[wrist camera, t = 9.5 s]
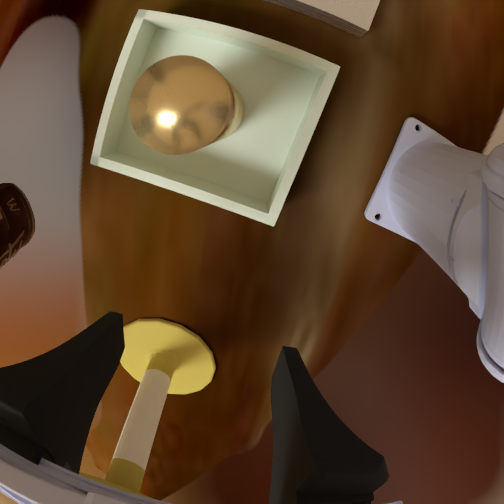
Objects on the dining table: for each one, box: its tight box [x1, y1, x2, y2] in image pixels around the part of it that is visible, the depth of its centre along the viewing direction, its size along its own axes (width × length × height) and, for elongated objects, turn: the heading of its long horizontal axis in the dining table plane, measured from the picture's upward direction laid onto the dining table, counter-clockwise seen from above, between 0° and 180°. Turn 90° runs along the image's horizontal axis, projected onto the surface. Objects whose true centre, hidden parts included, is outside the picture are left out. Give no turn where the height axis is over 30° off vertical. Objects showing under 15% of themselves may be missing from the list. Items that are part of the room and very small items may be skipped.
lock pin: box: [129, 55, 245, 155], centre depth 14 cm, size 4×4×8 cm
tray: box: [90, 9, 340, 227], centre depth 17 cm, size 12×10×3 cm
